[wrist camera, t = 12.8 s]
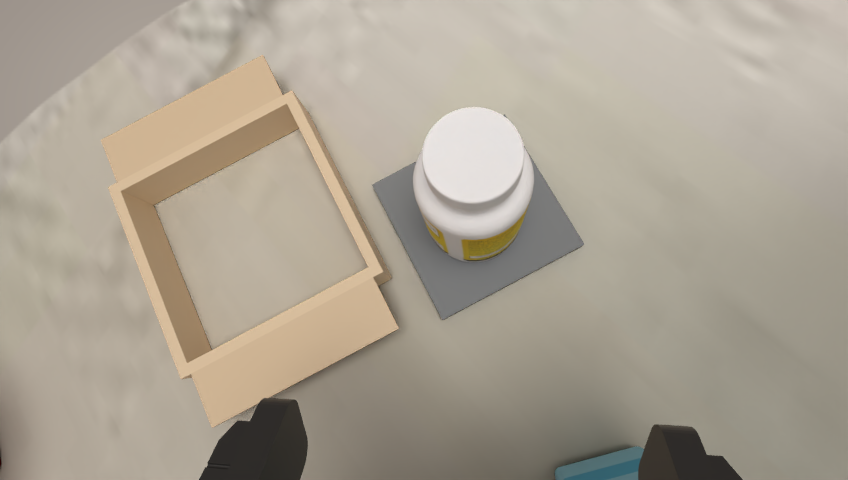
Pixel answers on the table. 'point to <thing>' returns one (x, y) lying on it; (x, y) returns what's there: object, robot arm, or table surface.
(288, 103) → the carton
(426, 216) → the supplement bottle
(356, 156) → the table surface
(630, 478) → the data package
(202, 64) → the table surface
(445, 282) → the coaster
